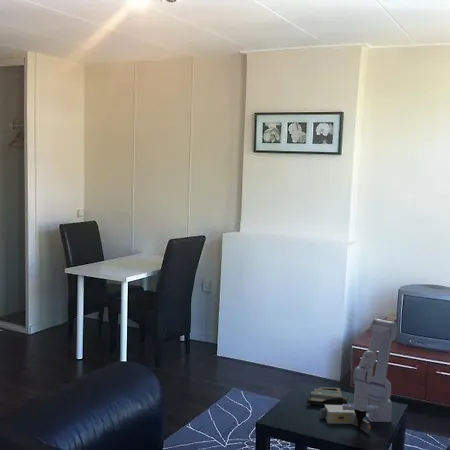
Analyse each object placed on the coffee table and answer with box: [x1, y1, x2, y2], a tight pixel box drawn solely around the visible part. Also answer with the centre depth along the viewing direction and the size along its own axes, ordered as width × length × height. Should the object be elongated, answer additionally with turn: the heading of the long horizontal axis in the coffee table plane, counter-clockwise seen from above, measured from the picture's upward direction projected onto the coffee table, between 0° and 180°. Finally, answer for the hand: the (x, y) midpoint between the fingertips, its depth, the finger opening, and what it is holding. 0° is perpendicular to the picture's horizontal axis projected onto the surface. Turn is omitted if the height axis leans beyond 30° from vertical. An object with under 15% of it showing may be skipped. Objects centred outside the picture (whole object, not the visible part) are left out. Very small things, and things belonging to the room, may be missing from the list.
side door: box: [352, 414, 371, 434], centre depth 254 cm, size 10×2×4 cm, turn 24°
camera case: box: [319, 405, 355, 425], centre depth 263 cm, size 14×8×5 cm, turn 93°
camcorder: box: [306, 386, 349, 406], centre depth 284 cm, size 16×20×5 cm
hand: (358, 427), depth 252 cm, fingers closed
